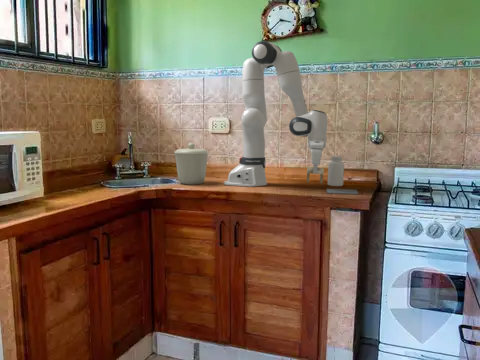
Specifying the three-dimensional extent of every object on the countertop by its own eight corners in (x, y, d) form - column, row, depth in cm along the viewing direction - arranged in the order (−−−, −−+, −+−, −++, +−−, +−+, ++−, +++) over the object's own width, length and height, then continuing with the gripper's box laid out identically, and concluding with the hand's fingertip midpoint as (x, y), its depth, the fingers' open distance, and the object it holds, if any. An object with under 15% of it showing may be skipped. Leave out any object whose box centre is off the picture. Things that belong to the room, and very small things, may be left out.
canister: (200, 186, 228) (200, 144, 225) (167, 184, 233) (167, 143, 230) (214, 182, 245) (214, 142, 242) (183, 180, 250) (183, 141, 248)
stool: (306, 182, 223) (307, 168, 222) (306, 181, 228) (307, 167, 227) (322, 183, 222) (323, 169, 221) (322, 182, 227) (323, 167, 226)
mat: (327, 193, 212) (327, 192, 212) (326, 189, 223) (326, 188, 223) (358, 194, 209) (358, 193, 209) (355, 190, 221) (356, 189, 221)
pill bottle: (343, 186, 234) (344, 157, 232) (327, 186, 235) (328, 156, 233) (343, 184, 241) (344, 156, 239) (327, 184, 243) (328, 155, 241)
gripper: (310, 142, 233) (308, 169, 235) (310, 144, 213) (308, 174, 215) (323, 143, 232) (321, 170, 234) (323, 145, 212) (321, 175, 214)
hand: (315, 172), depth 224 cm, fingers closed on stool, 5 cm apart
